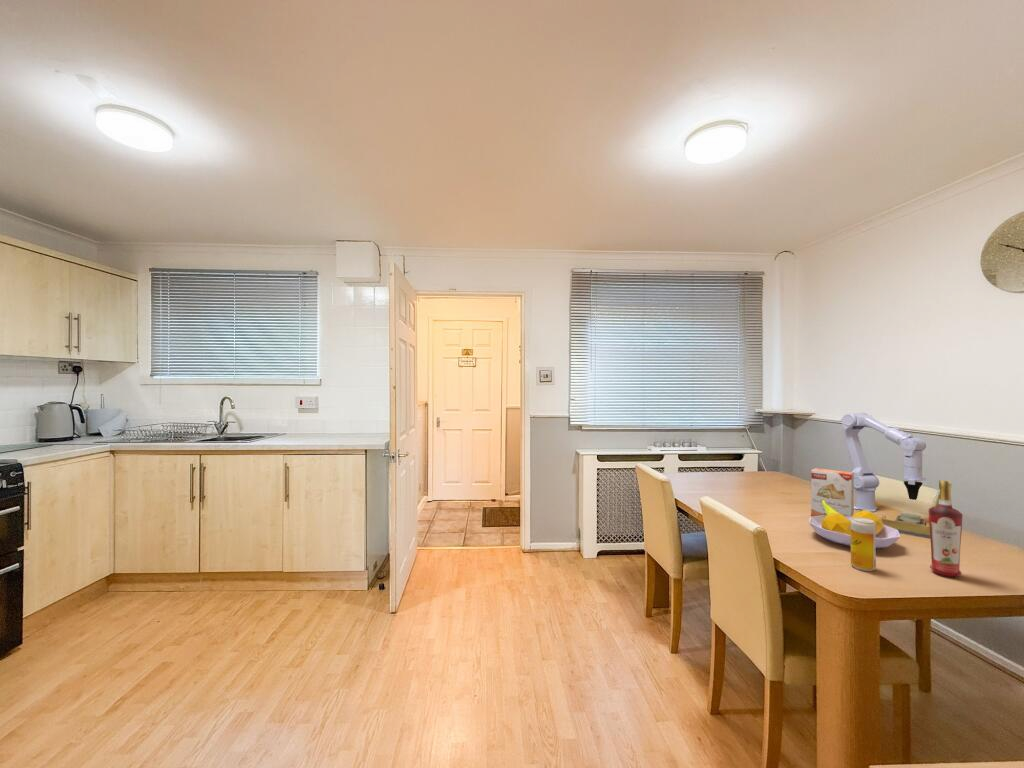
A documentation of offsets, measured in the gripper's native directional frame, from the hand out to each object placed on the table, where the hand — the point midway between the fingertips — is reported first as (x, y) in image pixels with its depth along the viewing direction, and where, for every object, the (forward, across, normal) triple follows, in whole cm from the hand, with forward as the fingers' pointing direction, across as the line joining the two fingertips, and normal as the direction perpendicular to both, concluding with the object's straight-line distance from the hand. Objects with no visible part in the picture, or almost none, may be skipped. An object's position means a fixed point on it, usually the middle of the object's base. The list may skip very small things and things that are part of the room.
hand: (913, 499), depth 183 cm
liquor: (+10, -61, -11) cm, 63 cm away
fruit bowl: (+10, -46, +14) cm, 49 cm away
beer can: (+10, -73, +7) cm, 74 cm away
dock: (+9, -14, 0) cm, 17 cm away
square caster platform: (+8, -15, 0) cm, 17 cm away
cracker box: (+10, -21, +24) cm, 33 cm away
